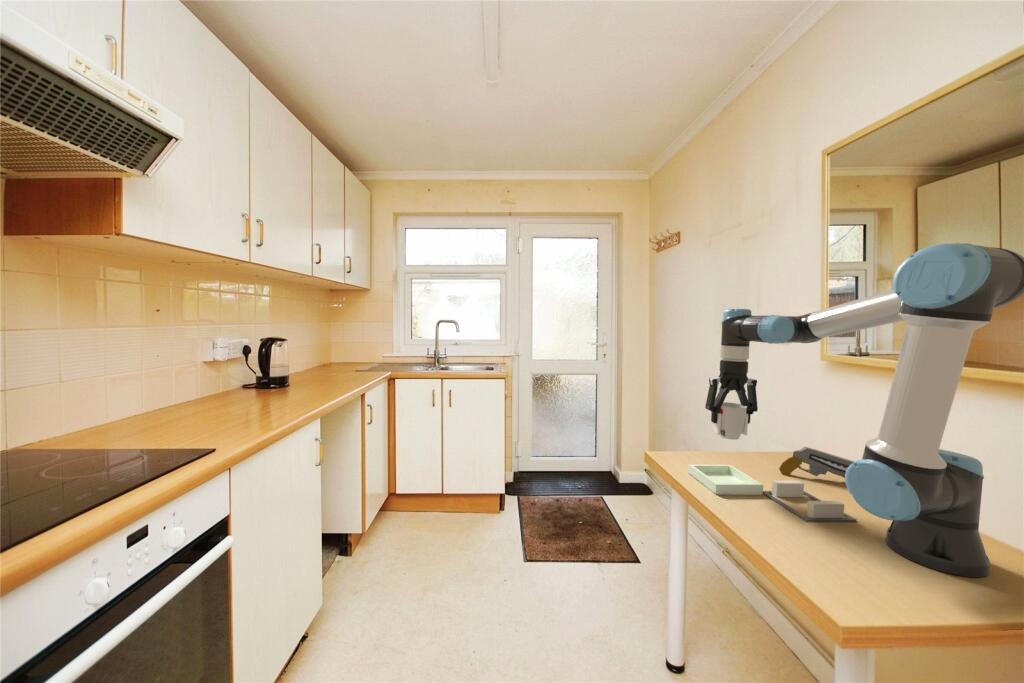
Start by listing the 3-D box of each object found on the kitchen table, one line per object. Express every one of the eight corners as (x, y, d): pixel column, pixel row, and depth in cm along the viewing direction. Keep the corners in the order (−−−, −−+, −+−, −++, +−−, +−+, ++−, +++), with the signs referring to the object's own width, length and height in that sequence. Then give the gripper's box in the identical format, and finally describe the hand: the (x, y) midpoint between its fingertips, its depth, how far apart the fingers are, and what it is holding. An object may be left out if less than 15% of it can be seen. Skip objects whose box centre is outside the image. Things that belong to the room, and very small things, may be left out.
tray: (762, 494, 113) (763, 484, 113) (715, 494, 113) (716, 484, 113) (729, 473, 129) (730, 464, 129) (688, 473, 129) (688, 464, 129)
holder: (856, 521, 99) (857, 506, 98) (806, 521, 98) (807, 506, 98) (803, 492, 116) (804, 479, 115) (760, 492, 115) (761, 479, 115)
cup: (714, 431, 126) (716, 401, 125) (743, 435, 122) (745, 404, 121) (715, 438, 118) (716, 405, 118) (746, 442, 115) (748, 409, 114)
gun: (864, 514, 121) (889, 472, 119) (778, 473, 129) (801, 433, 126) (859, 509, 124) (884, 469, 122) (775, 470, 132) (797, 431, 129)
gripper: (759, 359, 123) (754, 430, 124) (694, 357, 122) (691, 429, 123) (775, 361, 115) (770, 437, 117) (707, 360, 115) (703, 436, 116)
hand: (729, 433), depth 120 cm, fingers closed on cup, 8 cm apart
